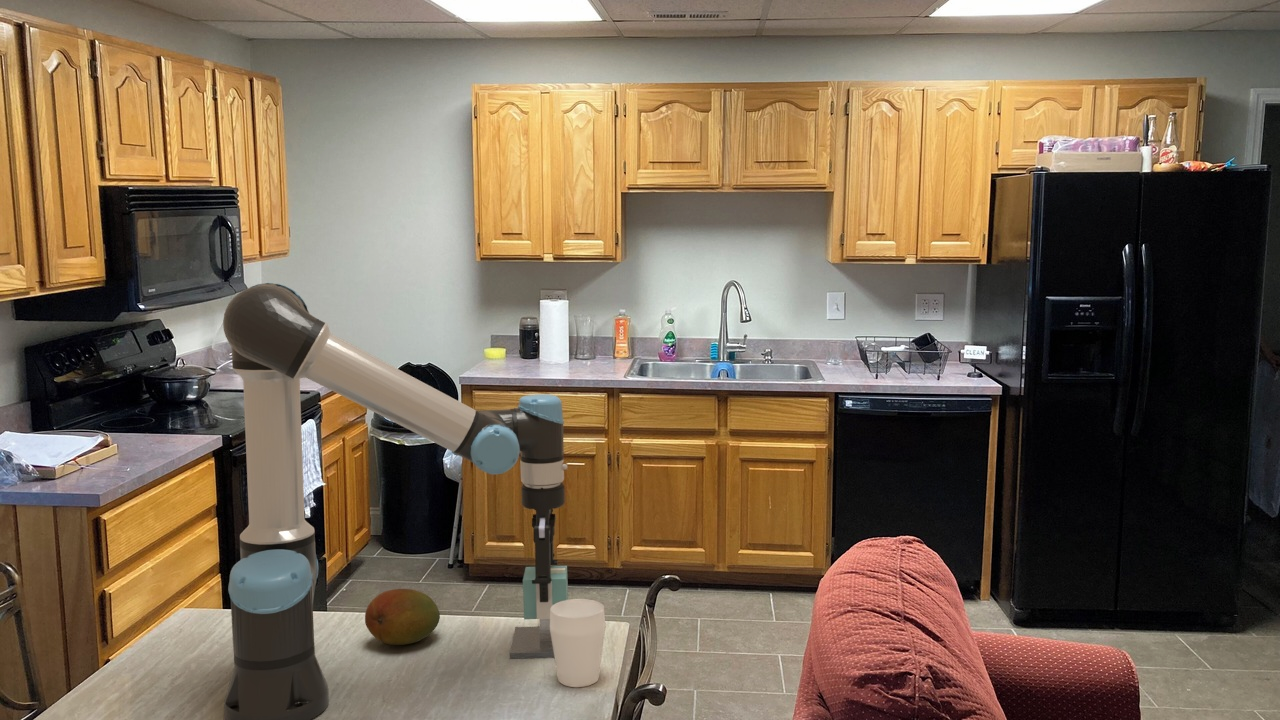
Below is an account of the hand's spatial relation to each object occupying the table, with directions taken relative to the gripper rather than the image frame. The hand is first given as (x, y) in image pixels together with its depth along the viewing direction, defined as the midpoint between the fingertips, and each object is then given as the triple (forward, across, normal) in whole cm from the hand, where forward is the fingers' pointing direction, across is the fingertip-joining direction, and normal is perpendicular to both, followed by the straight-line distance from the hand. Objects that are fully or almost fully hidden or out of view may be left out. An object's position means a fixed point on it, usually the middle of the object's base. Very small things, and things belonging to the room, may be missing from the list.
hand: (546, 609), depth 179 cm
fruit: (+7, +3, +26) cm, 27 cm away
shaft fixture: (+6, 0, 0) cm, 6 cm away
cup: (+7, -15, -6) cm, 17 cm away
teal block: (0, 0, 0) cm, 0 cm away
